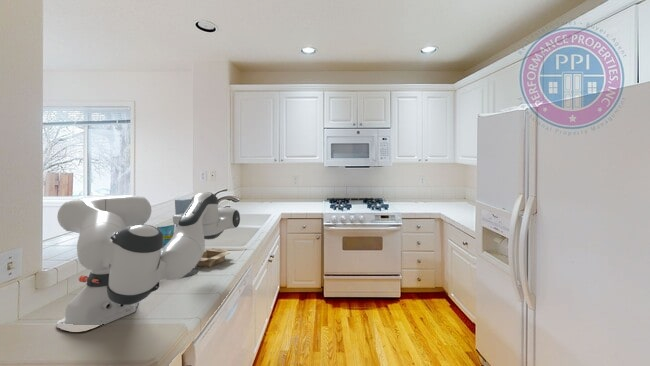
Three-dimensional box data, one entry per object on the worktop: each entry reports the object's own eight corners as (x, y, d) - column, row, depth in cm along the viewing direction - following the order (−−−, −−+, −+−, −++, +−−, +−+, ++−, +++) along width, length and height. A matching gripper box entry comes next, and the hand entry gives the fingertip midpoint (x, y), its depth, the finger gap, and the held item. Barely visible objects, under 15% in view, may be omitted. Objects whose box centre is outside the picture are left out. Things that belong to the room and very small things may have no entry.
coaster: (185, 278, 133) (185, 276, 133) (168, 275, 136) (167, 274, 136) (202, 270, 142) (202, 269, 142) (185, 267, 146) (185, 266, 146)
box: (184, 236, 135) (182, 200, 134) (176, 235, 137) (174, 199, 135) (192, 233, 139) (190, 198, 138) (184, 233, 141) (182, 198, 140)
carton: (210, 270, 142) (210, 262, 141) (180, 266, 148) (180, 258, 148) (235, 258, 159) (234, 250, 158) (207, 254, 165) (206, 247, 165)
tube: (161, 267, 147) (158, 227, 145) (158, 265, 150) (155, 226, 149) (177, 263, 152) (175, 225, 150) (174, 261, 155) (172, 223, 154)
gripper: (188, 229, 123) (162, 226, 128) (222, 219, 142) (198, 217, 147) (187, 213, 123) (161, 211, 128) (221, 205, 142) (198, 204, 147)
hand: (181, 214), depth 138 cm, fingers closed on box, 4 cm apart
